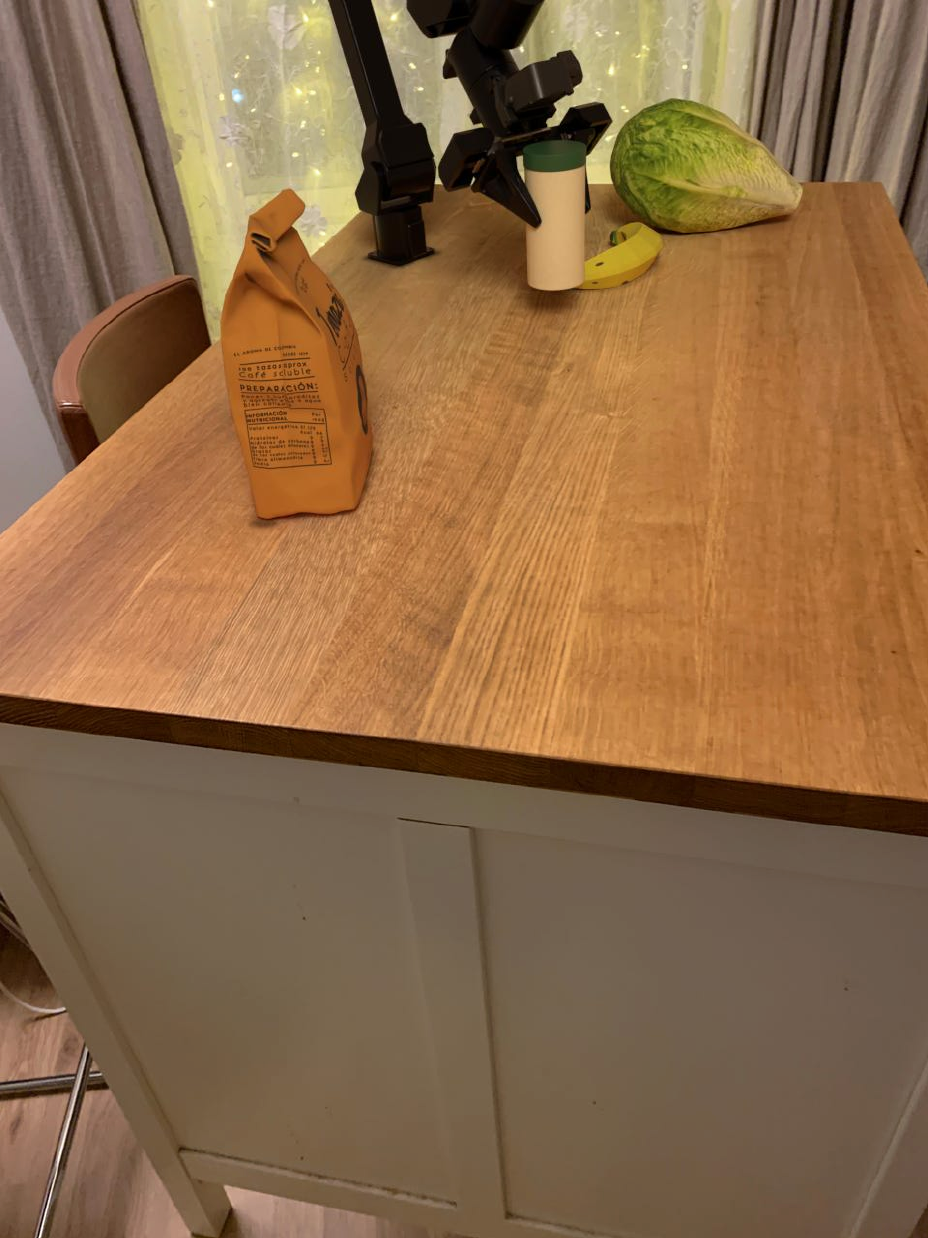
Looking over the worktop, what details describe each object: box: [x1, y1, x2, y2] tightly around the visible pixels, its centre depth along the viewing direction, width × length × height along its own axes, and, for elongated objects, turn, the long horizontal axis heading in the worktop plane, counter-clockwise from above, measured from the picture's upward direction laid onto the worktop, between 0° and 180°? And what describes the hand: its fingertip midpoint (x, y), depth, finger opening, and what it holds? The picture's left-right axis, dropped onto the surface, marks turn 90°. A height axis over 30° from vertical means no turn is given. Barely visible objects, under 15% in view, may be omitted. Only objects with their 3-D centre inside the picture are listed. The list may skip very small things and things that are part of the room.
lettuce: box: [609, 97, 804, 234], centre depth 124 cm, size 15×25×16 cm
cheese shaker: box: [522, 140, 587, 291], centre depth 99 cm, size 6×6×13 cm
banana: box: [573, 221, 664, 290], centre depth 117 cm, size 5×17×15 cm
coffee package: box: [219, 188, 374, 520], centre depth 74 cm, size 10×12×22 cm
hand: (563, 218), depth 98 cm, fingers closed on cheese shaker, 6 cm apart
